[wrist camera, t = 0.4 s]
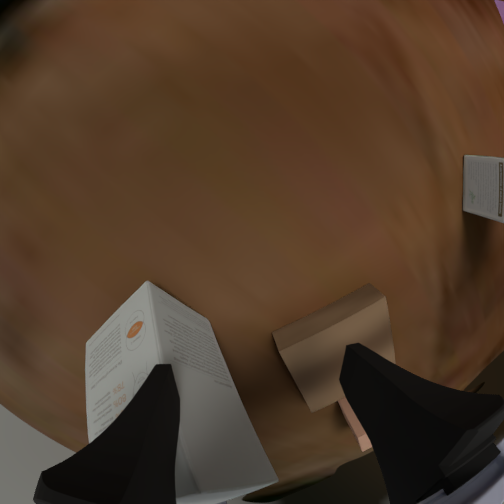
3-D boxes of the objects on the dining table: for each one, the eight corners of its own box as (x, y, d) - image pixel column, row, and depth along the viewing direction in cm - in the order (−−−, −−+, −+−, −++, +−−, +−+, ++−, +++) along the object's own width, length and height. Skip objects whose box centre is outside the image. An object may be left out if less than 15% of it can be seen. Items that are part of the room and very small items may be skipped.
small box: (146, 370, 21) (182, 513, 11) (84, 341, 17) (98, 513, 7) (212, 318, 21) (283, 481, 10) (148, 276, 17) (197, 495, 6)
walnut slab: (381, 351, 25) (396, 368, 22) (303, 391, 25) (311, 412, 22) (367, 281, 22) (385, 296, 19) (270, 329, 22) (278, 351, 19)
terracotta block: (373, 398, 27) (395, 433, 21) (343, 414, 27) (362, 451, 21) (369, 379, 25) (394, 417, 20) (336, 397, 25) (357, 438, 20)
